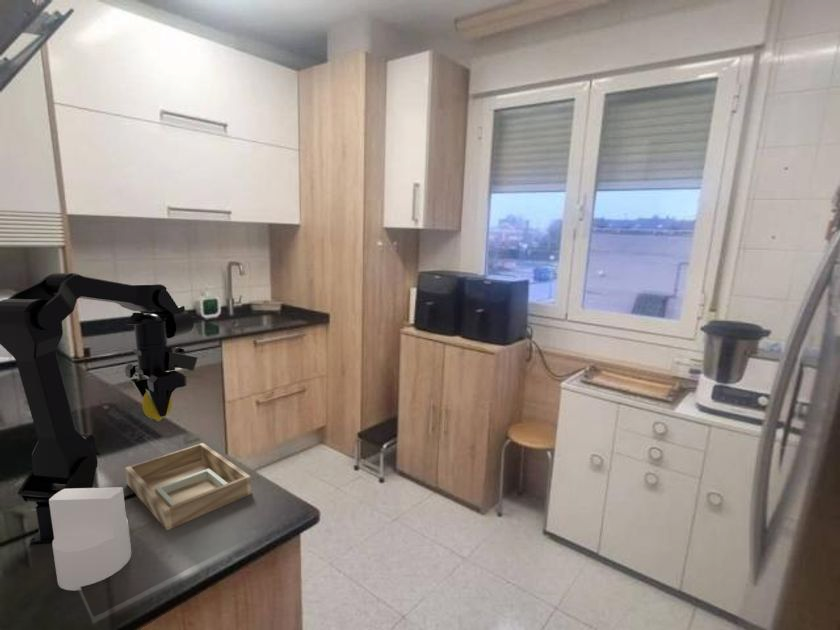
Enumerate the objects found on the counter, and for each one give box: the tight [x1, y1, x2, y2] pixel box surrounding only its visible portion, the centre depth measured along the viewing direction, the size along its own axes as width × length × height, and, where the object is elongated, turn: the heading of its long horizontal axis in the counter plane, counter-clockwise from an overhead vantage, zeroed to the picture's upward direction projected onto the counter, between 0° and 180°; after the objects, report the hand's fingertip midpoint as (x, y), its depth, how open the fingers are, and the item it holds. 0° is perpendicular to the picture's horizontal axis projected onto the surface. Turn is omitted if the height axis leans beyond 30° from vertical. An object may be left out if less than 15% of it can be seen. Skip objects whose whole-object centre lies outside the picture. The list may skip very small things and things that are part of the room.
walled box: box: [124, 442, 253, 531], centre depth 86 cm, size 22×15×4 cm
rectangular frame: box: [155, 468, 227, 507], centre depth 85 cm, size 10×10×2 cm
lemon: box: [141, 392, 173, 422], centre depth 96 cm, size 6×6×8 cm
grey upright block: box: [49, 486, 132, 591], centre depth 65 cm, size 9×9×12 cm
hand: (158, 412), depth 96 cm, fingers closed on lemon, 5 cm apart
